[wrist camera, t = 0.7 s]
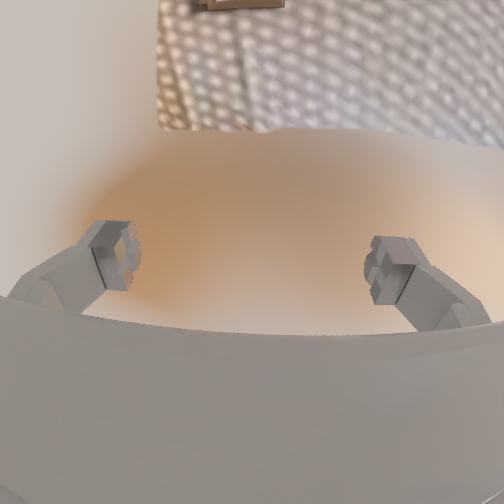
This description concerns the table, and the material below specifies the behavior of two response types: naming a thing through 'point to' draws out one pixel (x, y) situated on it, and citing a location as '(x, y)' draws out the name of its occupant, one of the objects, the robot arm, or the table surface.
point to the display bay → (238, 4)
